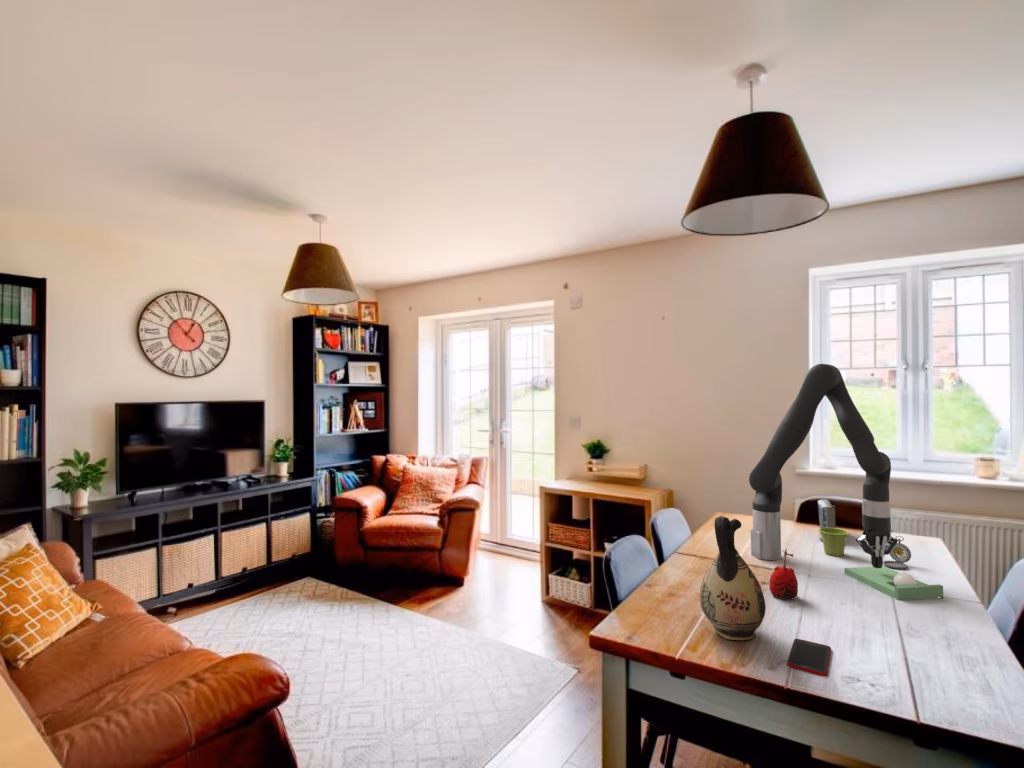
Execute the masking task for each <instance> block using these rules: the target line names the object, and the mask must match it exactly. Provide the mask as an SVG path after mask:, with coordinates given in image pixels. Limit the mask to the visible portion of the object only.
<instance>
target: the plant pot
mask: <svg viewBox="0 0 1024 768" xmlns="http://www.w3.org/2000/svg"><path fill="white" fill-rule="evenodd" d="M819 528H820V527H819ZM819 528H818V532H819V531H820V532H821V535H822V540H823V541H822V544H823V551H824V554H826V555H827V556H830V555H831V556H833V557H842V556H844V555H845V554H844V553H845V549H846V541H847V538H848V535H849V531H847V530H846V529H843V528H837V527H836V528H820V529H819Z"/></svg>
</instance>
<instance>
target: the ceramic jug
mask: <svg viewBox="0 0 1024 768" xmlns="http://www.w3.org/2000/svg"><path fill="white" fill-rule="evenodd" d="M741 527H742V522H741V521H740V520H739V519H736V518H733V519H731V520H730V519H729V518H728V517H725V516H723V515H722V516H721V515H720V516H718V517H715V519H714V535H715V539H716V544H717V548H718V552H717V554H716V556H715V557H714V559H713V560H712V561H711V563H710V565H708V566H709V567H708V568H707V570H706V571H705V573H704V576H703V578H702V580H701V584H700V588H699V589H700V590H699V602H700V603H699V605H700V606H701V611H702V613H703V615H705V618H706V619H707V620H708V621H709V622H710V623H711V625H712V626H713V629H714V630H715V633H716V634H717V635H719V637H721V638H723V639H725V640H729V641H730V640H731V641H750V640H753V639H754V637H755V636H756V634H755V632H756V631H757V629H759V627H760V626H761V625H762V623H763V621H764V618H765V615H766V607H767V606H766V600H765V597H764V596H765V595H764V592H763V590H762V587H761V585H760V582H759V581H758V578H757V577H756V575H755V573H754V572H753V571H752V569H751V568H750V566H749V565H748V563H746V561H745V560H744V558H743V557H742V556H741V555H740V554H739V551H738V550H737V549H736V547H735V545H736V544H735V533H736V531H737V530H739V529H740V528H741ZM728 649H729V648H728Z"/></svg>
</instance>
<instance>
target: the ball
mask: <svg viewBox="0 0 1024 768" xmlns="http://www.w3.org/2000/svg"><path fill="white" fill-rule="evenodd" d="M915 579H916V578H915V577H913V575H912V574H910V573H907V572H899V573H898V574H897V575H895V577H894V585H895V586H916V585H917V583H916V580H917V579H916V580H915Z"/></svg>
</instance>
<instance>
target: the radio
mask: <svg viewBox="0 0 1024 768" xmlns="http://www.w3.org/2000/svg"><path fill="white" fill-rule="evenodd" d="M836 509H837V508H836V505H833V504H832V503H831V501H829V500H828V499H825V498H823V499H822V498H821V499H819V500H817V510H818V521H819V522H818V523H819V528H818V538H819V540H820V541H821V542H823V540H822V535H821V532H820V531H819V529H820V528H837V527H836V515H837V514H836V513H837V511H836Z"/></svg>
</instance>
